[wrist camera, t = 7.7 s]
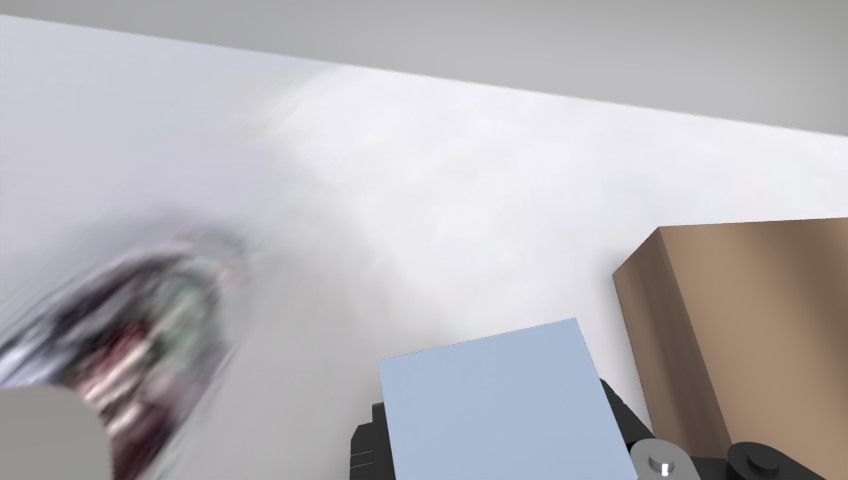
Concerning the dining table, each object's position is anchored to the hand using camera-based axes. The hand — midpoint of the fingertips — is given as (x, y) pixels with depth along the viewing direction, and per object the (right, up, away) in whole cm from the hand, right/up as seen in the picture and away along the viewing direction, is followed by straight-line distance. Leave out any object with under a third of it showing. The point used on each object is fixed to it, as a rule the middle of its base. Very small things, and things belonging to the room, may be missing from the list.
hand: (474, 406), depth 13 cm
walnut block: (+15, -2, +8) cm, 18 cm away
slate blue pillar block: (0, -3, +4) cm, 5 cm away
